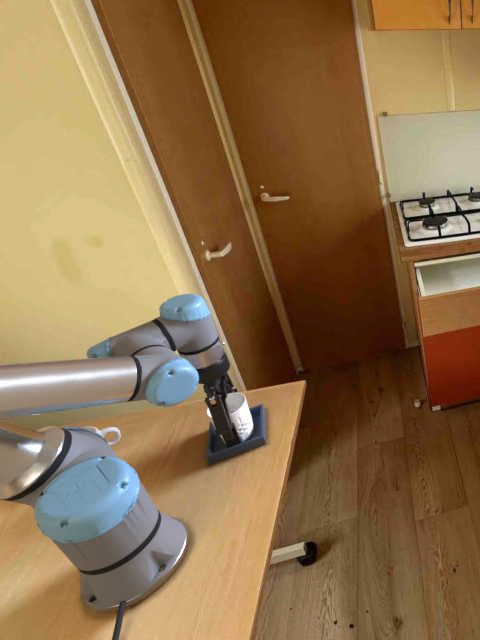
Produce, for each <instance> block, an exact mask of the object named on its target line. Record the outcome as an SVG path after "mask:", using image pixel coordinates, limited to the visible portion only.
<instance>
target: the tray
mask: <svg viewBox="0 0 480 640" xmlns="http://www.w3.org/2000/svg"><path fill="white" fill-rule="evenodd" d="M249 410H250V414H251V417H252V422H253V425H254V432H253V434H252V435H251V436H250V437H249V438H248V439H247V440H245V441H244V442H242V443H240V444H237V445H234V446H232V447H229V448H228V447H227V445H226V444H224V442H223V440H222V438H221V437H220V436H218V434H217V433H215V430H216V429H215V428H214V426H213V424H212V423H211V421H210V420H209V428H208V434H207V435H208V437H207V443H206V444H207V446H206V455H205V458H206V460H207V462H208V465H212V464H215V463H218V462H221V461H223V460H226V459H228V458H231V457H235V456H237V455H240V454H242V453H245V452H247V451H251V450H253V449H257V448H259V447H261V446H264V445H267V429H266V428H267V425H266V409H265V407H264V404H263V403H261V404H258V405H255V406H252V407H249Z"/></svg>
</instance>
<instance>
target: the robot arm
mask: <svg viewBox="0 0 480 640" xmlns="http://www.w3.org/2000/svg"><path fill="white" fill-rule="evenodd" d="M158 311H159V316H157V317H155V318H153V319H152V320H149V321H147V322H144V323H142V324H140V325H137V326H135V327H133V328H130V329H128V330H125V331H123V332H120V333H117V334H115V335H113V336H110V337H108V338H107V339H105V340H102V341H101V342H98V343H96V344H93V345H92V346H90V347H88V349H87V350H86V357H87V358H75V359H59V360H44V361H29V362H28V361H26V362H12V363H10V362H9V363H0V501H7V502H11V503H18V504H23V505H26V506H30V507H32V509H33V510H34V519H35V521H36V525H37V528H38V529H39V530H40V532H41V533H42V535H44V536H45V537H46V538H49V539H50V540H51V541H52V542H53V543H54V544H55V546H56V547H57V548H58V549H59V550H60V551H61V552H62V554H64V555H65V557H66V558H67V559H68V560H69V561H70V563H71V564H72V565H73V566H74V567H75V568H76V570H78V575H79V577H78V578H79V593H80V598H81V600H82V601H83V604H84V605H86V607H88V609H90V610H91V611H92V612H94V613H96V614H102V615H103V614H105V615H106V614H114V613H117V614H116V619H115V624H114V626H113V627H114V628H113V632H112V638H111V640H120V636H121V631H122V626H123V620H124V615H125V610H128V609H130V608H132V607H134V606H136V605H138V604H140V603H141V602H143V601H145V600H147V599H148V598H149V597H151V596H152V595H154V594H155V593H156V592H157V591H158V590H160V589H161V588H162V587H163V586H164V585H165V584H166V583H167V582H168V581H169V580H170V579H171V578H172V577H173V575H174V574H175V573H176V572H177V570H178V569H179V568H180V566H181V565H182V563H183V561H184V559H185V557H186V556H187V553H188V551H189V548H190V547H189V546H190V534H189V531H188V528H187V527H186V526H185V525H184V522H182V521H181V520H180V519H178V518H176V517H173V516H170V515H168V514H166V513H164V512H162V511H160V510H159V508H158V507H157V505H156V504H155V502H154V500H153V499H152V498H151V496H150V494H149V492H148V491H147V490H146V488H145V487H144V485H143V483H142V482H141V480H140V478H139V474H138V473H137V471H136V470H135V469H134V468H133V465H132V466H131V464H129V463H127V461H125V460H123V459H122V458H120V457H119V456H118V454H117V453H116V452H115V451H114V450H113V448H112V447H111V446H109V444H108V442H107V441H108V440H107V439H106V438H105V437H104V438H103V437H102V436H101V435H99V434H98V433H96V432H94V431H92V430H90V429H87V428H82V427H83V426H66V427H60V426H56V425H48V426H44V427H42V428H39V429H36V430H35V429H32V428H29V427H25V426H23V425H18V424H15V423H13V422H9V421H5V420H9V419H16V418H22V417H30V416H37V415H44V414H45V415H46V414H51V413H57V412H58V413H59V412H65V411H72V410H79V409H87V408H93V407H100V406H101V407H102V406H107V405H113V404H121V403H130V402H138V401H148V402H149V403H150V404H151V405H155V406H158V407H162V408H163V407H164V408H167V407H173V406H176V405H179V404H181V403H183V402H184V401H186V400H188V399H189V398H190V397H191V396H192V395H193V394H194V393H195V391H196V390H197V387H198V385H203V386H202V388H203V392H204V393H205V394H206V397H205V398H204V403H205V404H206V406H207V409H208V408H209V411H210V414H211V417H212V420H213V423H214V425H215V428H216V430H215V433H217V434H218V436H219V435H222V436H223V438H224V441H225V443H226V445H227V447H228V448H229V447H232V446H234V445H237V444H240V443H242V442H241V439H240V437H239V434H238V432H237V430H236V427H235V425H234V423H232V422H231V418H230V414H229V410H228V406H227V402H226V398H227V394H229V393H239V391H238V388H234V386H235V385H234V384H235V383H233V381H232V379H231V377H230V374H229V373H228V372H229V370H230V368H231V363H230V359H229V358H228V356H227V353H226V352H225V348H224V346H225V345H226V342H225V341H224V340H222V341H221V338H220V335H219V333H218V331H217V328H216V325H215V322H214V320H213V317H212V313H211V311H210V309H209V307H208V305H207V303H206V301H205V299H204V298H203V296H201V295H199V294H195V293H182V294H177V295H174V296H173V297H170V298H168V299H167V300H166V301H164V302H162V303H161V304H160V306H159V308H158Z"/></svg>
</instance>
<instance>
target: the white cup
mask: <svg viewBox="0 0 480 640" xmlns="http://www.w3.org/2000/svg"><path fill="white" fill-rule="evenodd" d="M226 402H227V406H228V410H229V414H230V418H231V422H232V423H234V425H235V427H236V430H237V432H238V434H239V437H240V439H241V442H244V441H245V440H247V439H248V438H249V437H250V436H251V435H252V434H253V432H254V425H253V422H252V417H251V414H250V410H249V408H250V407H249V404H248V401H247V398H246V396H245V395H244V393H241V392H238V393H229V394H227V398H226ZM206 415H207V418H208V419H209V422H210V421H211V423H212V424H213V426H214V428H215V425H214V423H213V420H212V417H211V414H210V411H209V408H208V407H207V409H206ZM215 429H216V428H215ZM219 436H220V437H221V438H222V440H223V442H224V444H226V443H225V441H224V438H223V436H222V435H219Z"/></svg>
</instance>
